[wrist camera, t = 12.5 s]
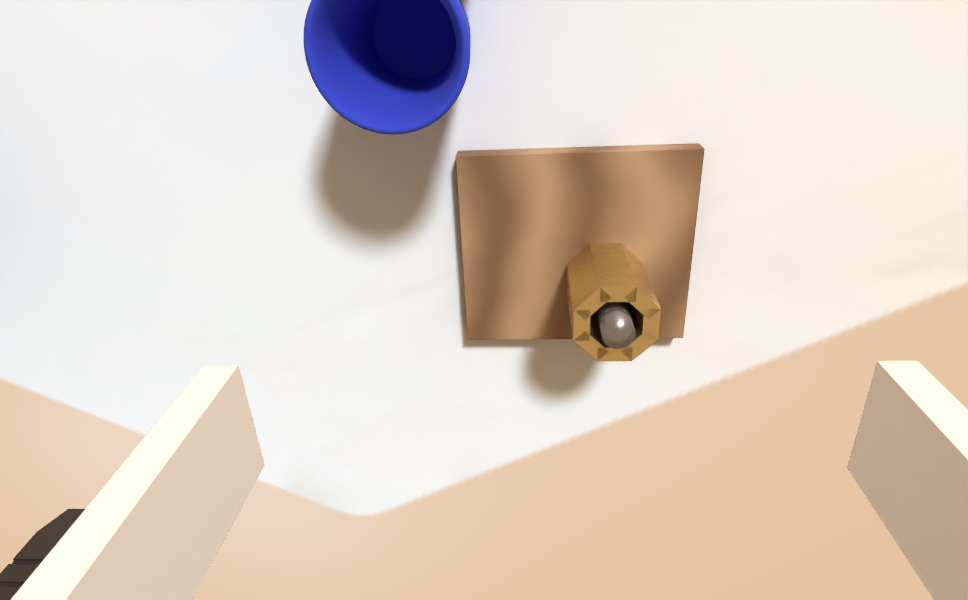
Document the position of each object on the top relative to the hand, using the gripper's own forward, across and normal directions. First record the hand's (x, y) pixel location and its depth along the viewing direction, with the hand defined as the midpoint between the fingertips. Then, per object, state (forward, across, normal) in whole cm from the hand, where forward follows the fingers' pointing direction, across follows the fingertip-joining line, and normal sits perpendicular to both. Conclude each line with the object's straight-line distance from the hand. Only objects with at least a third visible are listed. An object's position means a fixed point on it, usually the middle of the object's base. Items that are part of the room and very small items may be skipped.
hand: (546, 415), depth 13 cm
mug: (+32, -6, +7) cm, 33 cm away
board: (+32, +3, -9) cm, 33 cm away
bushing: (+30, +5, -11) cm, 32 cm away
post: (+30, +5, -11) cm, 33 cm away
